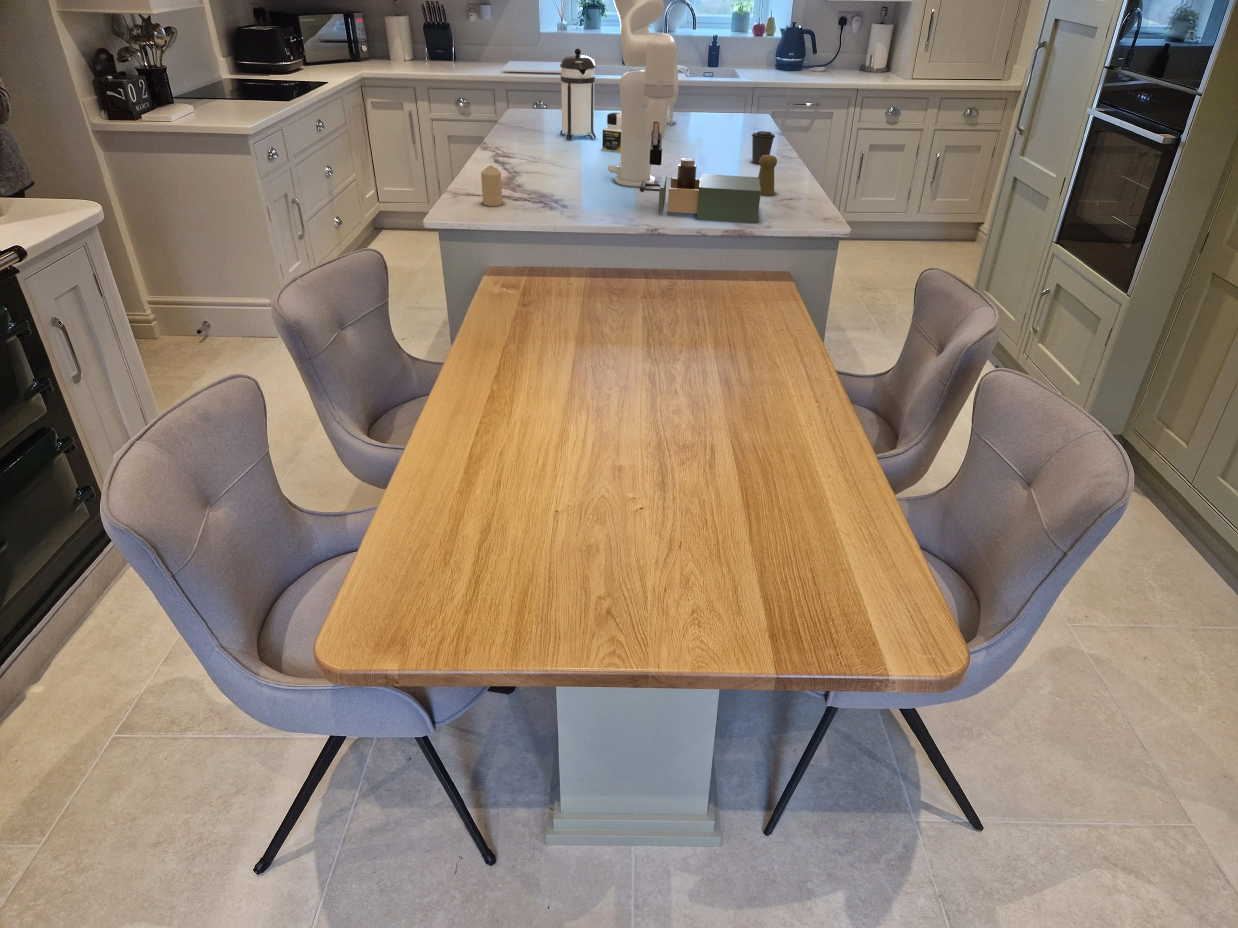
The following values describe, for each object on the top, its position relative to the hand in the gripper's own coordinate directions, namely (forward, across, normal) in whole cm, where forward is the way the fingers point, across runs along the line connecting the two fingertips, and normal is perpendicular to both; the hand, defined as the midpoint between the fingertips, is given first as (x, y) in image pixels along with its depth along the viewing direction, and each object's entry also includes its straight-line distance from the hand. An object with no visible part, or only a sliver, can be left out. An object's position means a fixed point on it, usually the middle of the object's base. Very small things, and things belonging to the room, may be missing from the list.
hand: (655, 164), depth 223 cm
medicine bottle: (+11, -72, -19) cm, 76 cm away
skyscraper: (+11, -125, -5) cm, 126 cm away
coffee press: (+11, -90, -36) cm, 98 cm away
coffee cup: (+12, -64, +32) cm, 72 cm away
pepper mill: (+10, 0, +9) cm, 14 cm away
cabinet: (+12, -1, +21) cm, 24 cm away
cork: (+12, -24, +32) cm, 42 cm away
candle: (+12, +3, -46) cm, 47 cm away
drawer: (+11, -1, +7) cm, 13 cm away
